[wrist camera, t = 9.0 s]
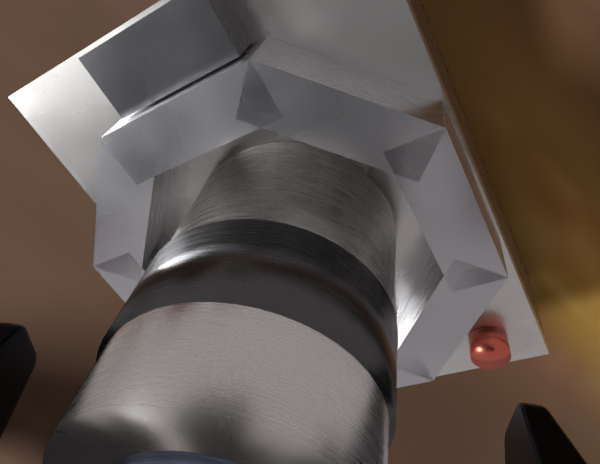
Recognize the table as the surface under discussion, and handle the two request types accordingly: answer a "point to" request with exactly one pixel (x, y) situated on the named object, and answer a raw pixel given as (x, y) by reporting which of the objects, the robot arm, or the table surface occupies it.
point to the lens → (253, 327)
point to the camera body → (304, 129)
